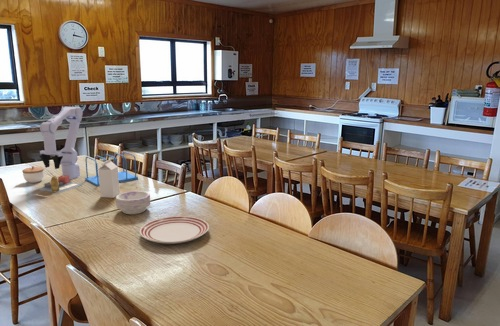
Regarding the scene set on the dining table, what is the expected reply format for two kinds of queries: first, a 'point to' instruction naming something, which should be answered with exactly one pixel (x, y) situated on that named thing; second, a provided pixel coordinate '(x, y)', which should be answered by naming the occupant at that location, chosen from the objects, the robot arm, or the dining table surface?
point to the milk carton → (108, 179)
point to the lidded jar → (33, 174)
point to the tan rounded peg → (54, 184)
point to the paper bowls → (133, 202)
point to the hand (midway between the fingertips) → (52, 167)
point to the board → (61, 187)
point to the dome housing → (50, 184)
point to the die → (64, 179)
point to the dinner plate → (174, 229)
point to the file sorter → (122, 176)
